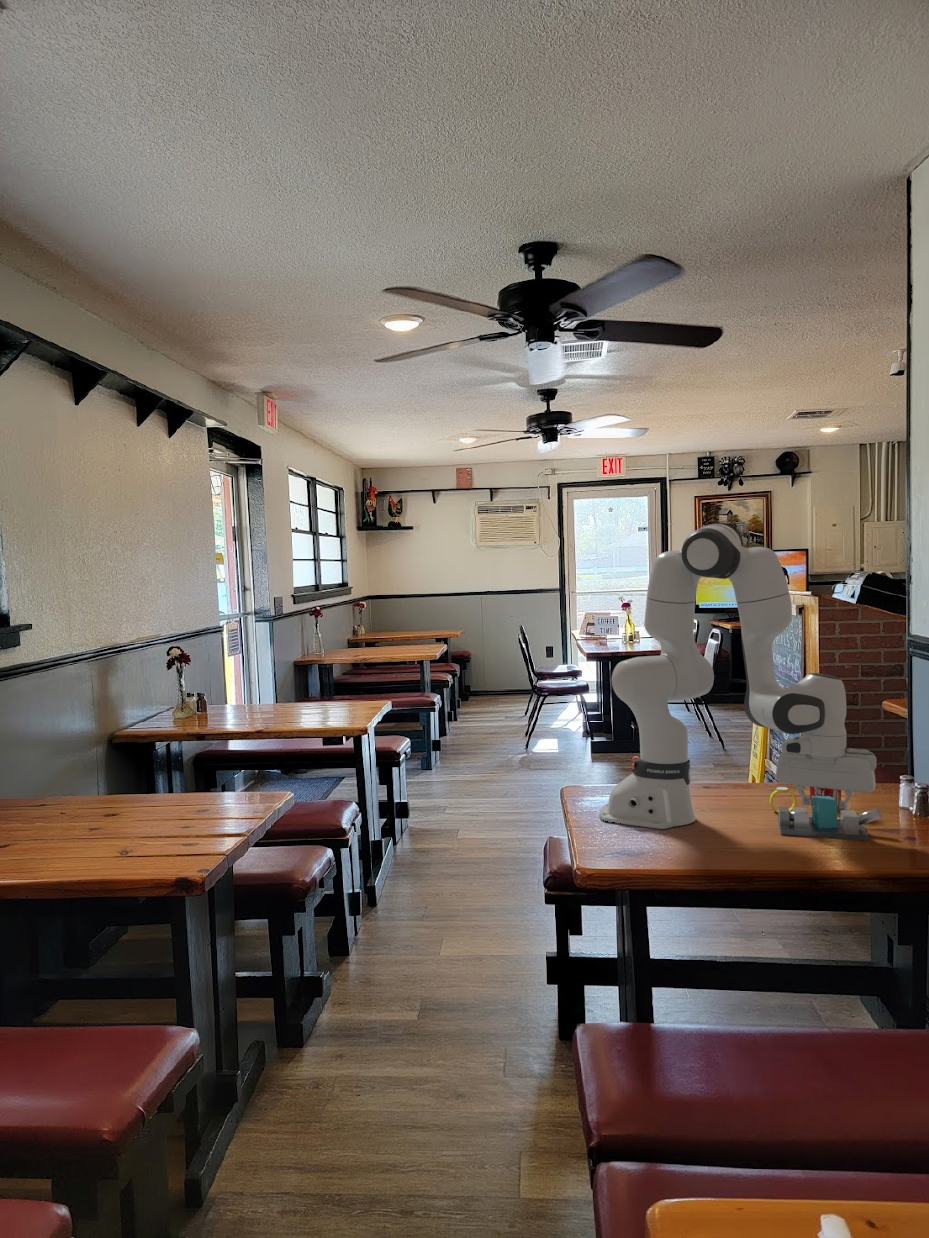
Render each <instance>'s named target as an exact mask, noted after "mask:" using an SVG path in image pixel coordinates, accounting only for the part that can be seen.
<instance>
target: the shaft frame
mask: <svg viewBox="0 0 929 1238" xmlns="http://www.w3.org/2000/svg"><path fill="white" fill-rule="evenodd" d="M778 810H779V813H778V815H777V822H778V828H779V832H780V835H781V836H782V835H783V836H793V837H794V836H795V837H807V838H808V837H809V838H821V839H822V838H824V839H837V840H849V841H850V840H852V841H863V842H864V841H865V842H869V834H868V832H867V830H866V827H864V825H865V824H868V823H870V822H873V821H877V820H880V819H882V818H883V816H882V814H881V812H880V810H879V808H878V807H875V808H873V809H870V810H868V811H864V812H862V813H857V811H856V810H851V809H850V810H849V809H848V810H847V811H846V810H840V809H839V810H840V819H839V818H837V828H818V827H817V826H816V825H814V824H813V823H812V816H811V817H810V813H809V811H808V808H807V807H798V806H795V807H793V811H789V807H787V806H778Z"/></svg>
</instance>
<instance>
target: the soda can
mask: <svg viewBox="0 0 929 1238" xmlns="http://www.w3.org/2000/svg"><path fill="white" fill-rule="evenodd" d="M809 796H810V807H812V796H830V797H832V798H833V799H835V800H836V801H837V811H838V810H840V809H839V807H840V805H839V802H840V801H841V800H842V790H837V789H828V788H820V787H811V786H809Z"/></svg>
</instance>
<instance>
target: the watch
mask: <svg viewBox="0 0 929 1238" xmlns="http://www.w3.org/2000/svg"><path fill="white" fill-rule="evenodd" d="M778 793H785V794H786V793H789V794H790V796H792V805H791V807H788V809H789V811H793V807H797V806H796V805H797V798H796V796H795V794H794V793H793V792H792V791H791V790H789V788H788V787H785V786H777V787H776V789H775V790H774V791H772V792H771V794H770V795H769V800H768V801H769V802H768V803H769V806H770V808H771V809H772V810H773V811H774V812H775V813H777V814H779V809H776V808H775V807H774V805H773V799H774V797H775V795H777V794H778Z"/></svg>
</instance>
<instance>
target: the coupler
mask: <svg viewBox="0 0 929 1238" xmlns="http://www.w3.org/2000/svg"><path fill="white" fill-rule="evenodd" d="M811 817H812V823H813V824H814V825H816V826H817V827H818V828H837V819H838V810H837V801H836V800H835V799H833V798H832V797H830V796H812V806H811Z"/></svg>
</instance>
